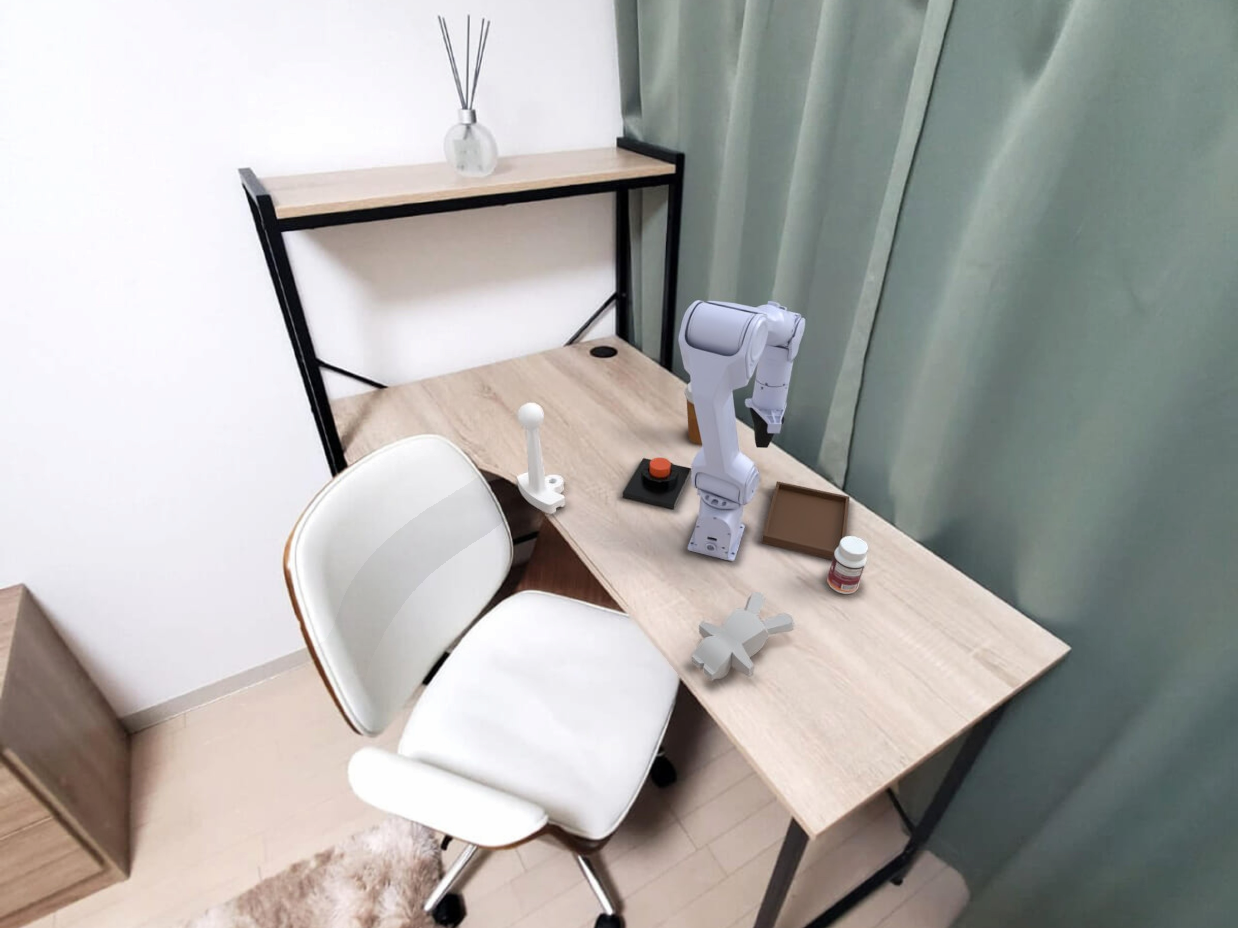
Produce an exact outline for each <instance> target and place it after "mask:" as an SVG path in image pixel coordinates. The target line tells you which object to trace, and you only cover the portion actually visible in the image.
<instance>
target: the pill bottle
mask: <svg viewBox="0 0 1238 928" xmlns="http://www.w3.org/2000/svg"><path fill="white" fill-rule="evenodd" d="M868 551H869V546H868V544H867V542H866V541H865V540H863V539H862V538H860V537H858V536H854V535H846V537H844V538H842V539H841V541H840V544H839V547H838V548H837V549H836V550H835V552H834V556H833V559H832V560H831V564H830V567H829V570H828V574H827V578H826V581H827V584H828V586H829V587H830V588H831V589H832V590H834V591H835V592H837V593H839V594H841V595H842V594H843V595H850V594H854V593H855V592H856V591H857V590H858V589H859V586H860V583H861V580H862V577H863V574H864V571H865V568H866V565H867V562H868V557H867V554H868Z"/></svg>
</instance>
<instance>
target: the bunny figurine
mask: <svg viewBox="0 0 1238 928" xmlns="http://www.w3.org/2000/svg"><path fill="white" fill-rule="evenodd" d="M765 603H766V597H765V595H764V594H763V593H762V592H759V591H753V592H752V593H751V595H750V596H749V597H748V598H747V601H746V604H745V607H744V609H742V608H741V607H737V608H736V609H734V610H733V611H732V612H731V613H730V614H729V615H728V616H727V617H726V618H725V619H724V621H723V622H722V625H721V626H720V625H716V624H713V623H710V622H708V621H705V620H702V621H701V622H700V623H698V633H699V634H700V636H701V637H702V638H703V639H702V640H701V641H700V643H699V644H698V646H697V647H696V649H695V651H694V652H693V654H692V655H691V656H690V657H691V660H690V661H691V663H692V664H693V665H694V666H695V667H696V668H697V669H698V670H699V671H701V670H702V673H703V675H705V677H707V678H708V679H709V680H710V681H711V682H714V680H721V679H723V678H725V677H727V675H728V674H729V672H730V671H731V668H734V669H735V670H736V671H738V672H740V673H741V674H742V675H745V676H746V677H748V678H750V677H752V676H753V675H754V672H755V670H754V669H755V665H754V663H753V661H752V659H751V657H753V656H754V655H756V654H758V652H759V651H760V650H761V649H762V648H763V647H764V645H765V643H766V642H767V640H768V638H769V636H770V635H771V636H772V635H777V634H783V633H791V632H792V631H794V630H795V627H796V625H795V622H794V618H793V617H792V615H791V614H788V613H779V614H777V615H774V616H771V617H769V618H767V619H764V620H762V619H761V618H760V617H759V613H760V611H761V610H762V608H763V606H764V605H765Z"/></svg>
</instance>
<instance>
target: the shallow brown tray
mask: <svg viewBox="0 0 1238 928" xmlns="http://www.w3.org/2000/svg"><path fill="white" fill-rule="evenodd" d="M850 499H851V498H850V496H849V495H844V494H840V493H835V492H829V491H826V490H825V491H824V490H820V489H816V488H811V487H806V486H801V485H797V484H793V483H787V482H782V481H776V483H775V487H774V491H773V494H772V498H771V502H770V506H769V510H768V513H767V517H766V521H765V524H764V528H763V532H762V537H761V542H760V543H761V544H765V545H768V546H773V547H777V548H781V549H786V550H790V551H793V552H797V553H802V554H805V555H810V556H814V557H819V558H823V559H827V560H830V561H832V559H833V556H834V552H835V550H836V549H837V548H838V547H839V544H840V541H841V539H842V538H844V537H846V536H847V527H848V517H849V506H850Z"/></svg>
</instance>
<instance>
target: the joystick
mask: <svg viewBox="0 0 1238 928" xmlns="http://www.w3.org/2000/svg"><path fill="white" fill-rule="evenodd" d="M517 419H518V422H519V424H520V425H521V426H522V427H523V428H524V429H525V439H526V454H527V455H526V456H527V458H526V460H527V471H526V472H524V473H521V474H519V475H517V476H516V481H517V482H516V483H517V488H518V490H519V492H520V494H521V496H522V497H523V498H524V499H525V500H526V501H527V502H528V503H529V504H530V505H532V506H533V507H535V508H536V509H538V510H540V511H541V512H543V513H547V514H549V515H552V514H554V513H556V512H557V508H559V507H561V508H563V507H565V505H566V497H565V495H564V494H561V493H563V492H564V489H565V485H564V484H565V483H564V478H563V477H562V476H561V475H559V474H549V475H546V473H545V466H544V458H543V451H542V444H541V436H540V426H541V425H542V424H543V422H544V419H545V413H544V409H543V408H542V406H540V404H537V403H535V402H526V403H524V404H523V405H521V407H520V408H519V409H518V411H517Z"/></svg>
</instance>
